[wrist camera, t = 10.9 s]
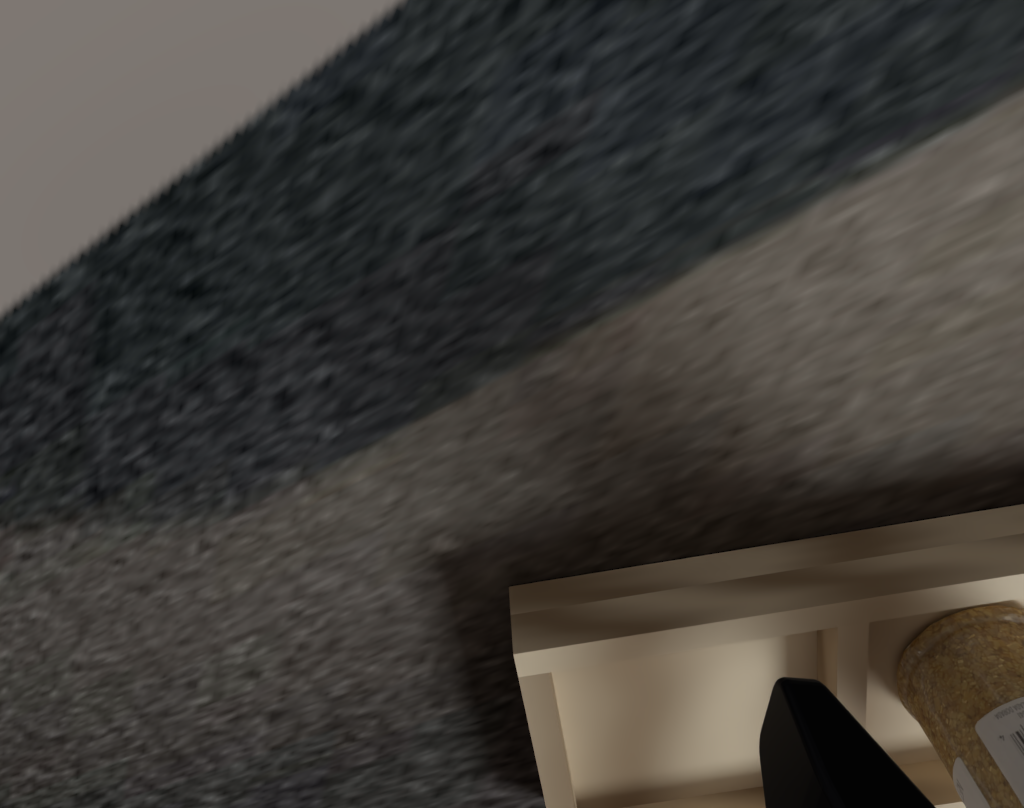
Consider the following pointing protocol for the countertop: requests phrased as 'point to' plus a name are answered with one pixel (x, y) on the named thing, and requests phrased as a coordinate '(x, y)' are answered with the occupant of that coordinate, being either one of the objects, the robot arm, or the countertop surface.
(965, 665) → the sprinkles bottle
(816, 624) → the caddy
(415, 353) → the countertop surface
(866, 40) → the countertop surface
